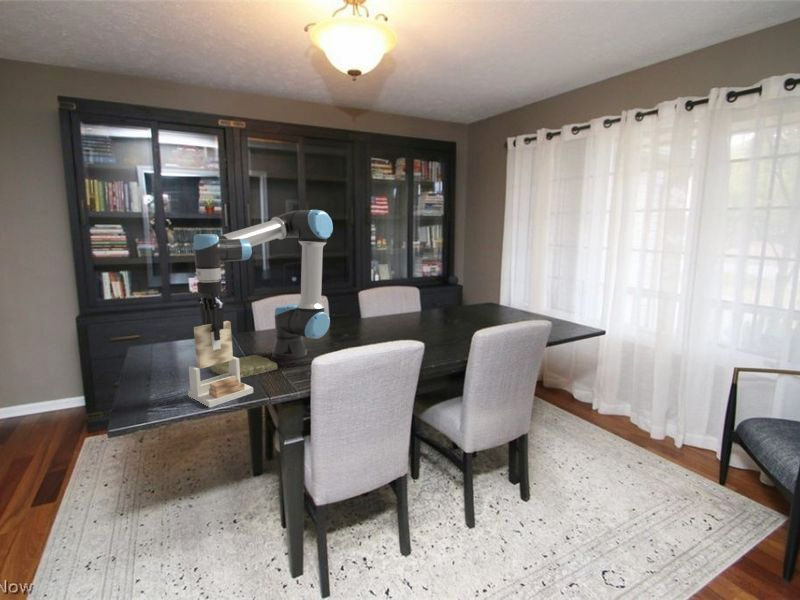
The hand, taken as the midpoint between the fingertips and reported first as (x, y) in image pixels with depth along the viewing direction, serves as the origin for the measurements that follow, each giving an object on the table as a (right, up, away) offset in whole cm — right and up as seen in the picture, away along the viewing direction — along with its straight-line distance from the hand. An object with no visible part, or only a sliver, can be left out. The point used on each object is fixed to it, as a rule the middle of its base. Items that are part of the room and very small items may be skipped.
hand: (214, 348), depth 145 cm
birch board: (0, -5, +1) cm, 5 cm away
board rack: (+2, -16, +1) cm, 16 cm away
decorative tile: (+1, -12, +27) cm, 29 cm away
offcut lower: (+5, -15, -2) cm, 16 cm away
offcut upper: (+5, -13, -3) cm, 14 cm away
